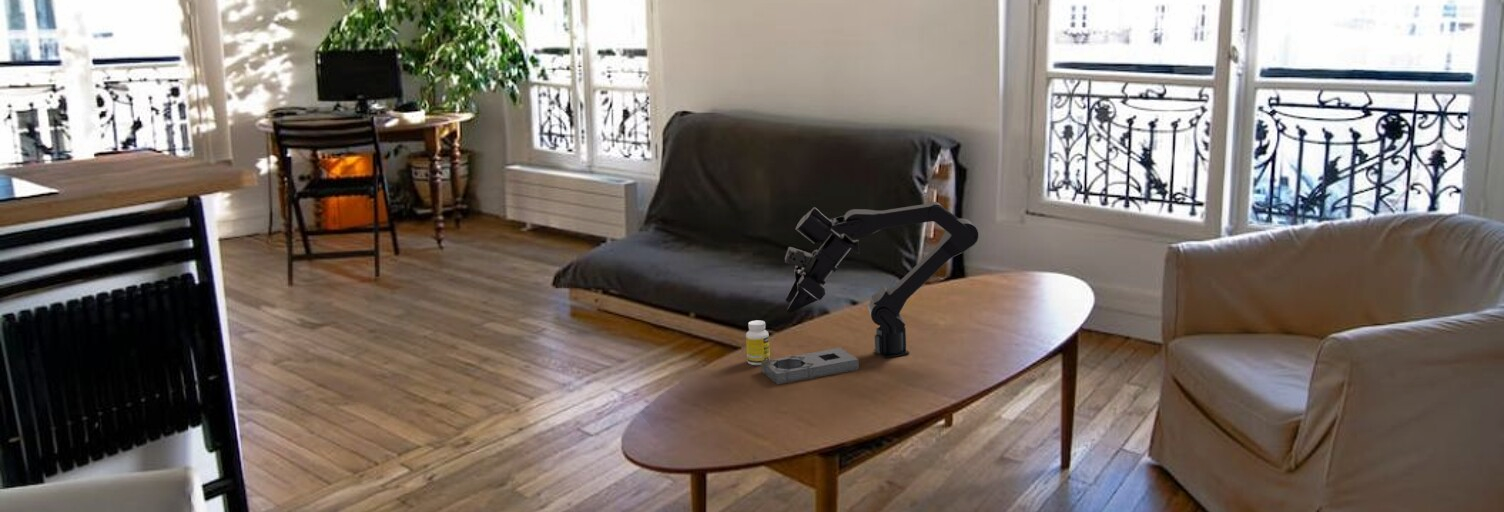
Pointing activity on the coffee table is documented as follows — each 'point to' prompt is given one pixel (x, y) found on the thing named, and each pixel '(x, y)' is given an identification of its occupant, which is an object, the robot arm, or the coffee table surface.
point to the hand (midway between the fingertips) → (787, 306)
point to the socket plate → (809, 365)
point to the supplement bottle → (757, 343)
